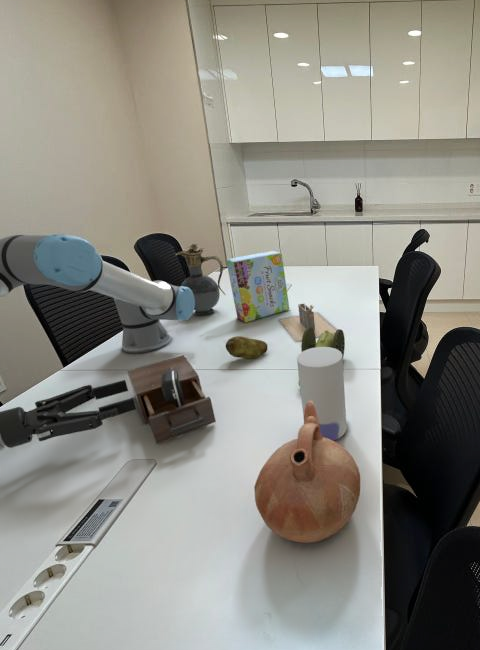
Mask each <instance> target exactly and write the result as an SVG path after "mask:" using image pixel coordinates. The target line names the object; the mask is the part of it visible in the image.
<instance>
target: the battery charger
mask: <svg viewBox="0 0 480 650" xmlns="http://www.w3.org/2000/svg"><path fill="white" fill-rule="evenodd" d="M161 386H162V391H163V396H164V399H165V401H166V402H170V401H171V402H172V403H173V404H175V407H174V408H177V407H180V406H183V405H186V403H185V399H184V395H183V391H182V387H181V384H180V380H179V376H178V372H177V371H172V372H167V373H164V374H163V375H162V377H161ZM174 408H173V409H174Z"/></svg>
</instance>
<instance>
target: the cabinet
mask: <svg viewBox="0 0 480 650" xmlns="http://www.w3.org/2000/svg"><path fill="white" fill-rule="evenodd" d="M172 371H177V372H178V376H179V380H180V384H181V383H184V382H187V381H190V380H194V381H195V383H196V384H197V386H198V387H199V388H200V390H201V391H202V392H203V390H202V385H201V381H200V377H199V374H198V373H197V371H196V370H195V369H194V367H193V366H192V364H191V363H190V362H189V360H188V359H187V358H186V356H185V355H183V354H182V355H179V356H175V357H172V358H168V359H165V360H161V361H157V362H154V363H153V362H152V363H150V364H146V365H143V366H139V367H135V368H131V369H128V370H126V372H127V374H128V378H129V382H130V385H131V388H132V391H133V394H134V398H135V399H136V402H137V406H138V408H139V411H140V413H141V416H142V419H143V421H144V423H145V424H147V423H150V422H149V419H148V417H149V414H148V411H147V408H146V405H145V402H144V398H143V395H145V394H148V393H152V392H155V391H158V390H161V389H162V386H161V377H162V375H163V374H164V373H167V372H172Z"/></svg>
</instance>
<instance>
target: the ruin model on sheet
mask: <svg viewBox="0 0 480 650" xmlns="http://www.w3.org/2000/svg"><path fill="white" fill-rule="evenodd" d="M297 307H298V316H293V317H288V318H283V319H279V322H281V324H282V325H283V327H285V329H286V330H287V331H288V332H289V334H290V335H291V336H292V338H293V339H294V340H295V341H296V342H302V337H303V334H304V331H305V330H306V328H313V330H314V332H315V336H316V338H319V337H320V335H321V334H322V333H323V332H325V331H326V330H327V331H329V332H332V333H333V334H334V335H335V332H336V330H337V329H335V328H334V327H333V326H332V325H331V324H330V323H328V322H327V321H326V320H325V319H324V318H323V317H322V316H320V315H319V314H318V313H317V312H315V313H314V311H312V310H313V309H314V308H315V306H313V304H311V305H310V306H308V305H307V304H305V303H298V306H297Z"/></svg>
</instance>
